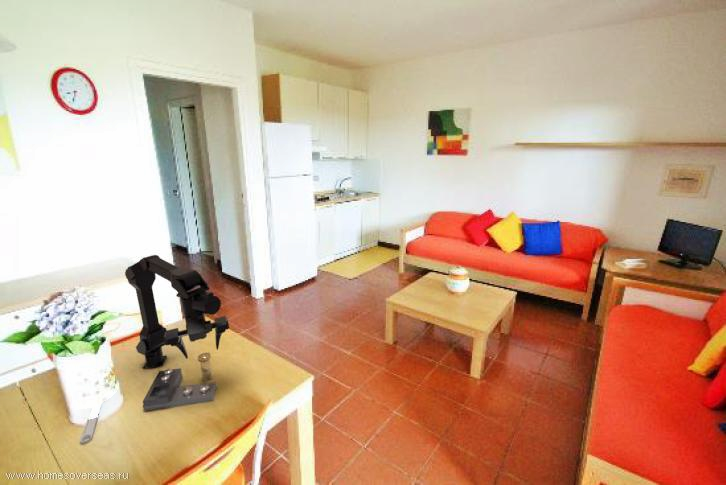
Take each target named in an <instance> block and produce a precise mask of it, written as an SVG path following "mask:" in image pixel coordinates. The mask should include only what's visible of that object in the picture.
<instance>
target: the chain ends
mask: <svg viewBox="0 0 726 485" xmlns="http://www.w3.org/2000/svg"><path fill="white" fill-rule="evenodd" d="M182 382H183V373H182V368H174V369H173V368H167V369H166V370H159V371H158V372H157V374H156V376H155V377H154V380H153V381H152V384H150V387H149V389H148V391H147V392H146V395H145V396H144V398H143V399H142V409H143V410H142V411H143V412H148V411H152V410H153V411H154V410H161V409H167V408H168V409H169V408H174V407H182V406H186V405H194V404H200V403H201V404H202V403H208V402H213V401H214V397H215V395H216V390H217V388H218V387H217V382H216V381H211V382H203V383H197V384H190V385H183V386H182V385H181V383H182Z"/></svg>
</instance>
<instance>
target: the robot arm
mask: <svg viewBox="0 0 726 485" xmlns="http://www.w3.org/2000/svg"><path fill="white" fill-rule="evenodd" d="M124 275H125V278H126V279H127V282H128V284H129V285H131V287H133V289H135V292H136V297H137V303H138V308H139V313H140V317H141V323H142V328H141V331H140V332H139V342H138V343H137V344H136V346H135V349H136V352H137V353H139V354H140V355H142V356H144V358H145V362H144V364H143V366H142V369H144V370H145V369H150V368H157V367H158V368H159V367H163V365H164V363H165V361H166V360H167V358H168V356H167V355H164V353H163V349H162V348H163V347H164V346H171V347H176V348H177V349H178V350H179V351H180V352H181V353H182V355H183V356H184V357H185V359H189V358H188V357H189V356H188V352H187V349H186V346H185V343H184V340H183V338H184V337H187V336H188V339H189V342H195V341H199V340H203V339H206V338H207V334H210V332H213V329H214V335H215V336H214V337H215V338H214V340H215V347H216V350H219V347H220V340H221V337H222V334H223V333H225V332H226V331H227V330H228V329H230V324H229V321H228V318H227V316H225V315H223V316H220V317H219V316H218V317H216V318H213V319H214V322H212V321H211V319H209V320H206V315H210V316H213V315H216V314H217V313H218V312H219V311H220V309H221V307H222V306H221V305H222V302H221V300H220V297H218V296H217V295H216V296H215V295H214V292H212V291H209V290H210V286H209V284H208V282H206V281H205V279H204V278H203V276H202V275H201V274H200V272H199V271H197V270H195V269H193V268H189V267H187V268H182V267H178V266H176V265H174V264H172V263H170V262H168V261H167V260H165V259H163V258H161V257H160V256H159V255H158V254H151V255H148V256H145V257H142V258H141V259H140V260H139V261H137V262H136V263H134V264H132V265H130V266H129V265H128V267H126V269H125V272H124ZM156 275H158V276H159V277H161V278H163V279H165V280H166V281H168V282H170V285H171V286H170V287H171V288H173V289H174V290H175V291H176V292H177V293H176V298H180V301H181V302H180V303H181V307H182V312H183V315H184V317H183V318H184V320H185V329H183V330H179V327H176V328H172V329H168V330H167V328H166V327H164V326H162V324H160V322H159V317H158V313H157V312H158V311H157V307H156V306H157V305H156V302H155V301H156V300H155V295H154V291H153V285H154V283H155V280H156V278H157V276H156ZM182 337H183V338H182Z"/></svg>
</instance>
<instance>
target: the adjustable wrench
mask: <svg viewBox="0 0 726 485" xmlns="http://www.w3.org/2000/svg"><path fill="white" fill-rule="evenodd" d="M98 422H99V418H97V417H96V418H94V419H90V420H89V419H88V418H87V420H86V422H85V425H84V428H83V431H82V434H81V437H80V439H79V441H80V444H81V445H87V444H89V443H90V442H92V441H93V439H94V435H95V431H96V428H97V423H98Z"/></svg>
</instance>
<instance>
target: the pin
mask: <svg viewBox="0 0 726 485" xmlns="http://www.w3.org/2000/svg"><path fill="white" fill-rule="evenodd" d="M210 359H211V353H209V352H203V353H201V354H199V355H198V356H197V361H198V362H199V364H200V371H201V378H202V381H203V382H208V381H210V380H211V379H212V378H213V376H212V368H211V360H210Z"/></svg>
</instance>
